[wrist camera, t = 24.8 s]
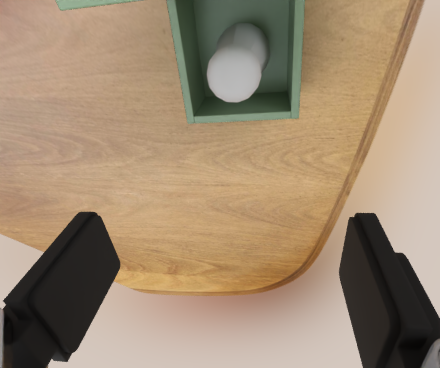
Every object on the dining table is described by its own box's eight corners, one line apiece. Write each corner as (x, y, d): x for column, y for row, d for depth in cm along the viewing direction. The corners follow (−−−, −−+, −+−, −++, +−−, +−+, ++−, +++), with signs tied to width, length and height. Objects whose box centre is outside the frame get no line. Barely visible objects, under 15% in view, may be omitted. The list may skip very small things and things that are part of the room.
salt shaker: (279, 37, 31) (287, 61, 20) (253, 85, 34) (248, 127, 23) (232, 10, 30) (214, 19, 19) (210, 61, 33) (183, 93, 23)
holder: (292, 95, 35) (298, 118, 29) (201, 101, 37) (187, 124, 31) (298, -58, 27) (308, -74, 21) (181, -41, 29) (157, -50, 23)
